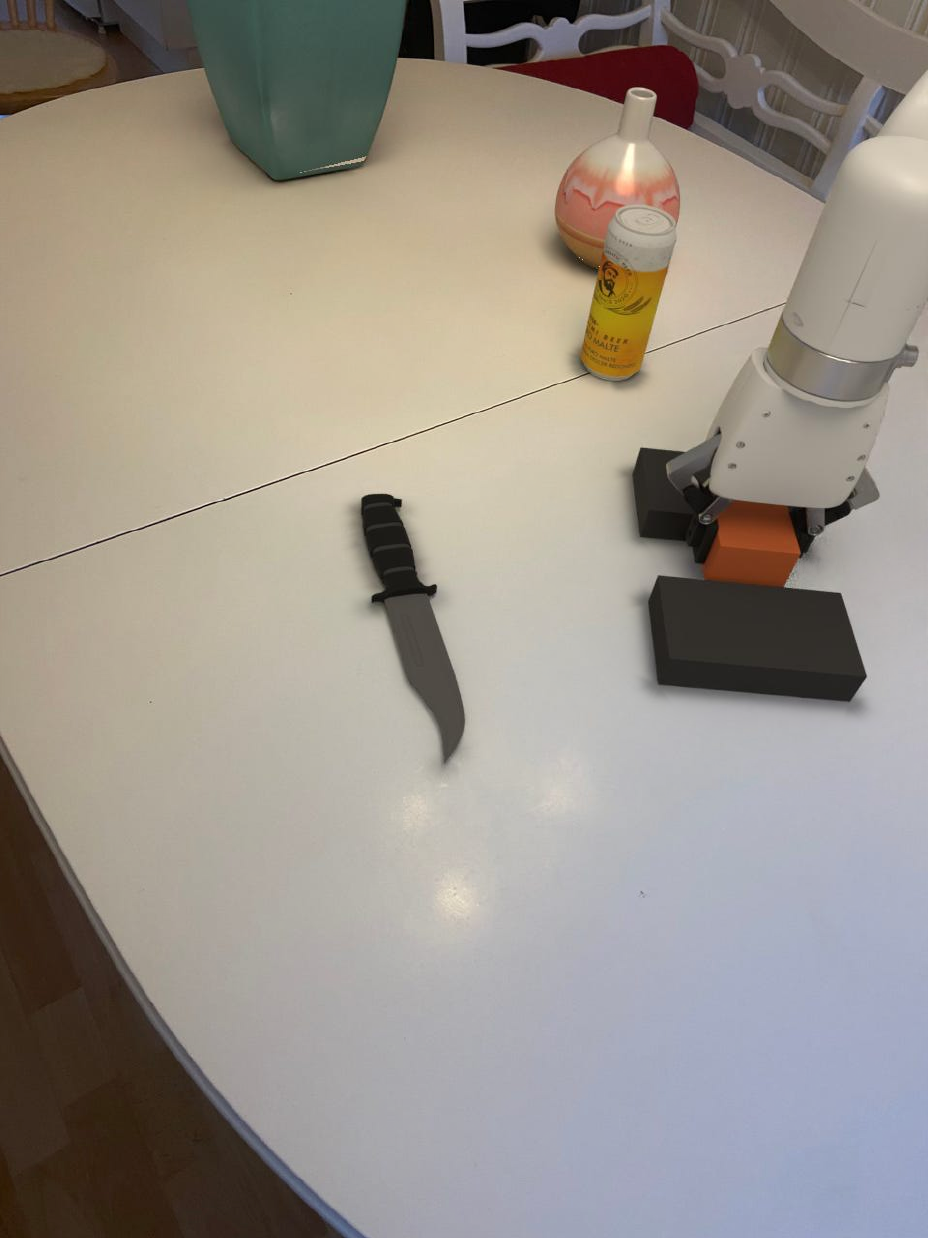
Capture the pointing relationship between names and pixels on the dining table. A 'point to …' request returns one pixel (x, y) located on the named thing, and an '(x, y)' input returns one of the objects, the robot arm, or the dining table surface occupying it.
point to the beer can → (627, 290)
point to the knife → (412, 615)
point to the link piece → (753, 545)
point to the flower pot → (299, 76)
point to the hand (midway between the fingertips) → (739, 554)
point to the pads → (739, 616)
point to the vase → (615, 180)
